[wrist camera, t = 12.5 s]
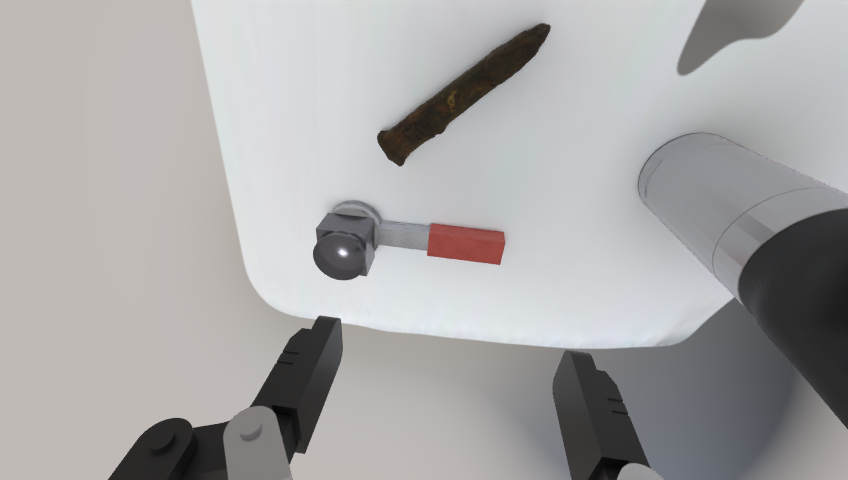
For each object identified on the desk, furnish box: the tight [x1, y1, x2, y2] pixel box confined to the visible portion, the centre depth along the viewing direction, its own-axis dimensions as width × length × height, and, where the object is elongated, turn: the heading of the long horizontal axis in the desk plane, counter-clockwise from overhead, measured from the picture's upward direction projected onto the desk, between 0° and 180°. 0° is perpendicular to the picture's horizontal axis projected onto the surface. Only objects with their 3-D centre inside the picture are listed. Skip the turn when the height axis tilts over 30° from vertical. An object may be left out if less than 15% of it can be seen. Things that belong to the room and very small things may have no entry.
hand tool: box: [377, 24, 551, 166], centre depth 35 cm, size 19×4×5 cm, turn 125°
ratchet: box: [332, 201, 505, 265], centre depth 43 cm, size 22×7×6 cm, turn 86°
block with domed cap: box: [313, 213, 375, 280], centre depth 42 cm, size 6×6×5 cm
